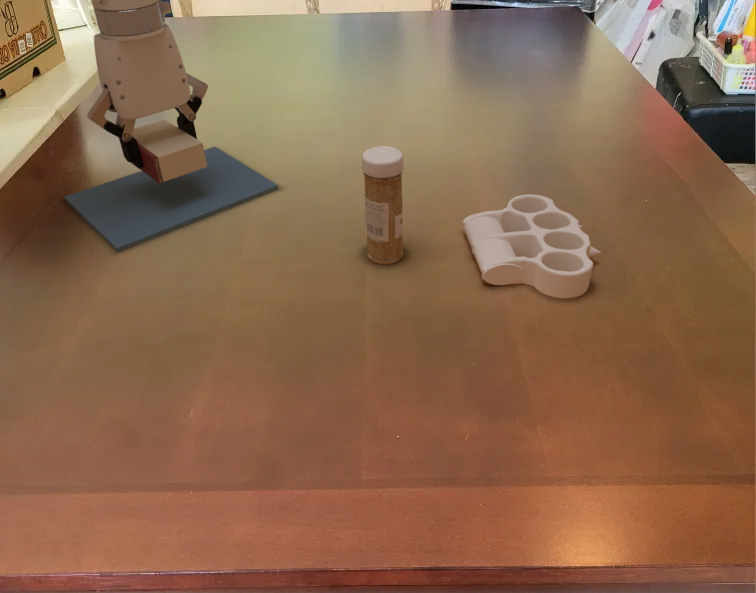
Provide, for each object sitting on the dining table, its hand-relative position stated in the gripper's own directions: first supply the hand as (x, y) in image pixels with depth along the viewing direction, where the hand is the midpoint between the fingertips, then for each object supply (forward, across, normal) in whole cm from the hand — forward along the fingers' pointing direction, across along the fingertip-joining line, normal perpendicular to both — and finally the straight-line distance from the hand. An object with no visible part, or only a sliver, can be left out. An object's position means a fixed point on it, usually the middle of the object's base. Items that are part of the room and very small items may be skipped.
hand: (163, 155), depth 89 cm
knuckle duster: (+7, -25, +44) cm, 51 cm away
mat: (+6, 0, 0) cm, 6 cm away
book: (+1, 0, 0) cm, 1 cm away
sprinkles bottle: (+6, -12, +32) cm, 35 cm away
